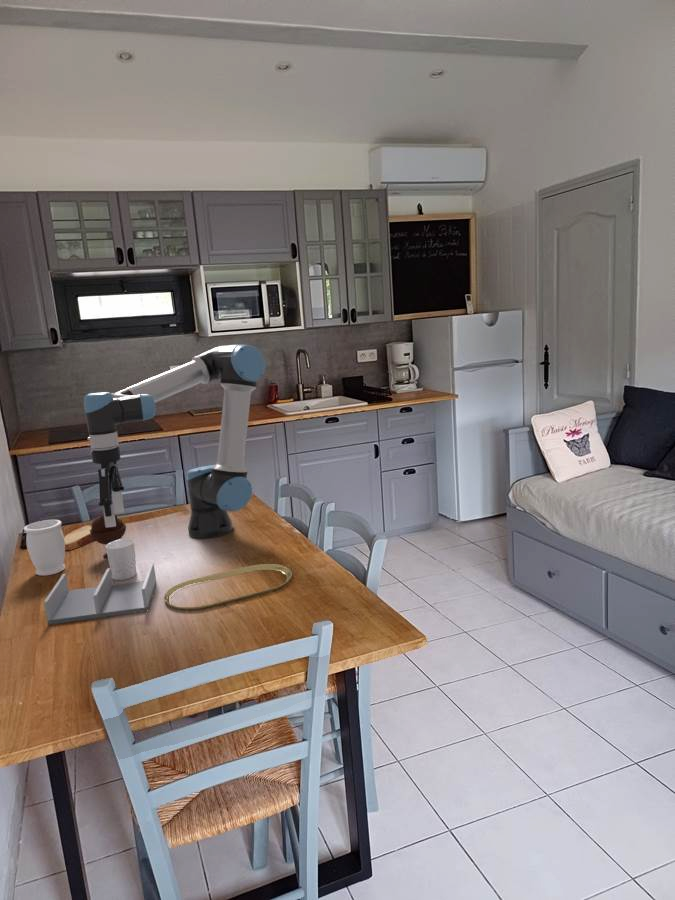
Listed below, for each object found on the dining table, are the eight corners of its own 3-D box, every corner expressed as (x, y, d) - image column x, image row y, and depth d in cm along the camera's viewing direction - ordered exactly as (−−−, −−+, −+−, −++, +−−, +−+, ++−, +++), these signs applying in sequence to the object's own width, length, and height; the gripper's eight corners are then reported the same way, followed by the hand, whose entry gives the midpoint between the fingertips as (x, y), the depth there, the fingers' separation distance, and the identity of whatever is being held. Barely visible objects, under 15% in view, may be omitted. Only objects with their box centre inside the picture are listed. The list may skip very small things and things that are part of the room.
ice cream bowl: (135, 548, 208) (128, 505, 205) (120, 561, 197) (113, 516, 194) (104, 549, 209) (97, 506, 206) (88, 562, 198) (80, 517, 195)
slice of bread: (60, 553, 210) (58, 543, 209) (55, 539, 225) (53, 529, 225) (116, 541, 218) (114, 531, 217) (107, 527, 234) (105, 518, 233)
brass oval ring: (302, 586, 170) (302, 580, 170) (172, 619, 156) (171, 613, 156) (279, 564, 187) (278, 559, 187) (159, 592, 173) (158, 587, 173)
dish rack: (156, 583, 178) (153, 562, 177) (148, 611, 161) (144, 588, 160) (66, 594, 175) (62, 574, 174) (48, 624, 158) (43, 601, 156)
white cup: (114, 571, 189) (109, 540, 187) (141, 569, 190) (136, 537, 188) (107, 582, 182) (102, 549, 180) (135, 579, 182) (130, 547, 180)
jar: (76, 565, 197) (68, 519, 194) (51, 578, 187) (43, 531, 184) (49, 563, 200) (41, 518, 197) (24, 576, 191) (15, 529, 188)
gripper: (100, 441, 189) (110, 508, 194) (80, 457, 165) (92, 534, 169) (126, 438, 190) (135, 506, 195) (110, 455, 166) (121, 531, 170)
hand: (115, 519), depth 182 cm, fingers open, 13 cm apart
